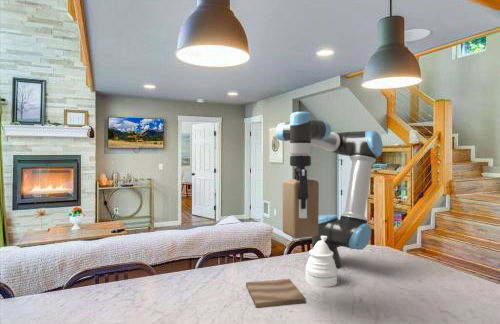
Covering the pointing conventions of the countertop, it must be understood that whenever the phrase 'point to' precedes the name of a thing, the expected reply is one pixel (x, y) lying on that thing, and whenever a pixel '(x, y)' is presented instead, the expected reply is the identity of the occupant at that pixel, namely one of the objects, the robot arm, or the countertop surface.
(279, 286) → the walnut board
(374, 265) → the countertop surface
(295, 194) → the wooden block
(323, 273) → the honey pot
